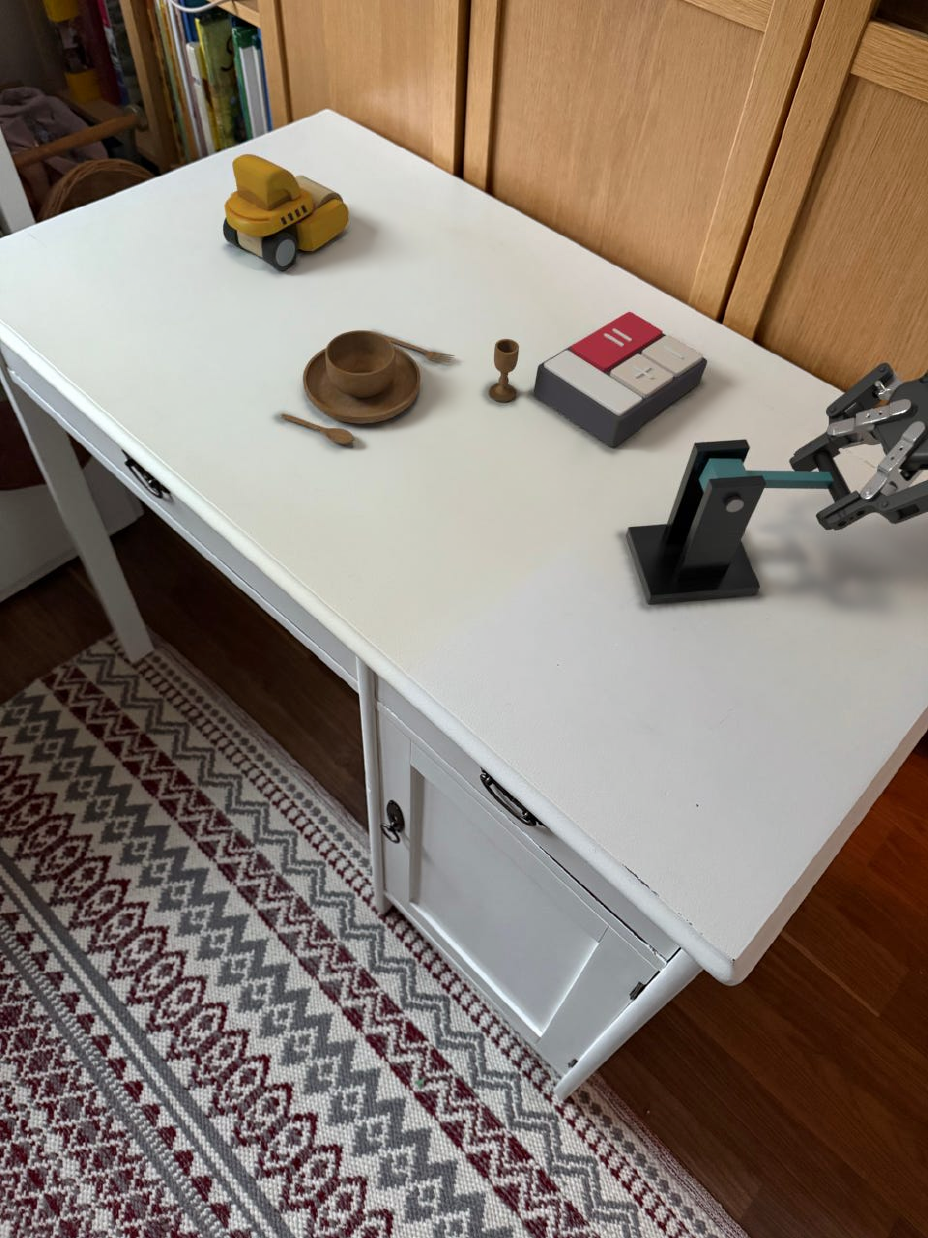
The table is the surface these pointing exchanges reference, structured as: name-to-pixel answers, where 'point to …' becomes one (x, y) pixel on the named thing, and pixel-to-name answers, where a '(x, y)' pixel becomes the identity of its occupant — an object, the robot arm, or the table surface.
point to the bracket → (701, 534)
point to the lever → (784, 475)
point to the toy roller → (280, 212)
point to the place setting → (378, 379)
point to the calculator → (618, 377)
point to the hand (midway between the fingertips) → (807, 494)
